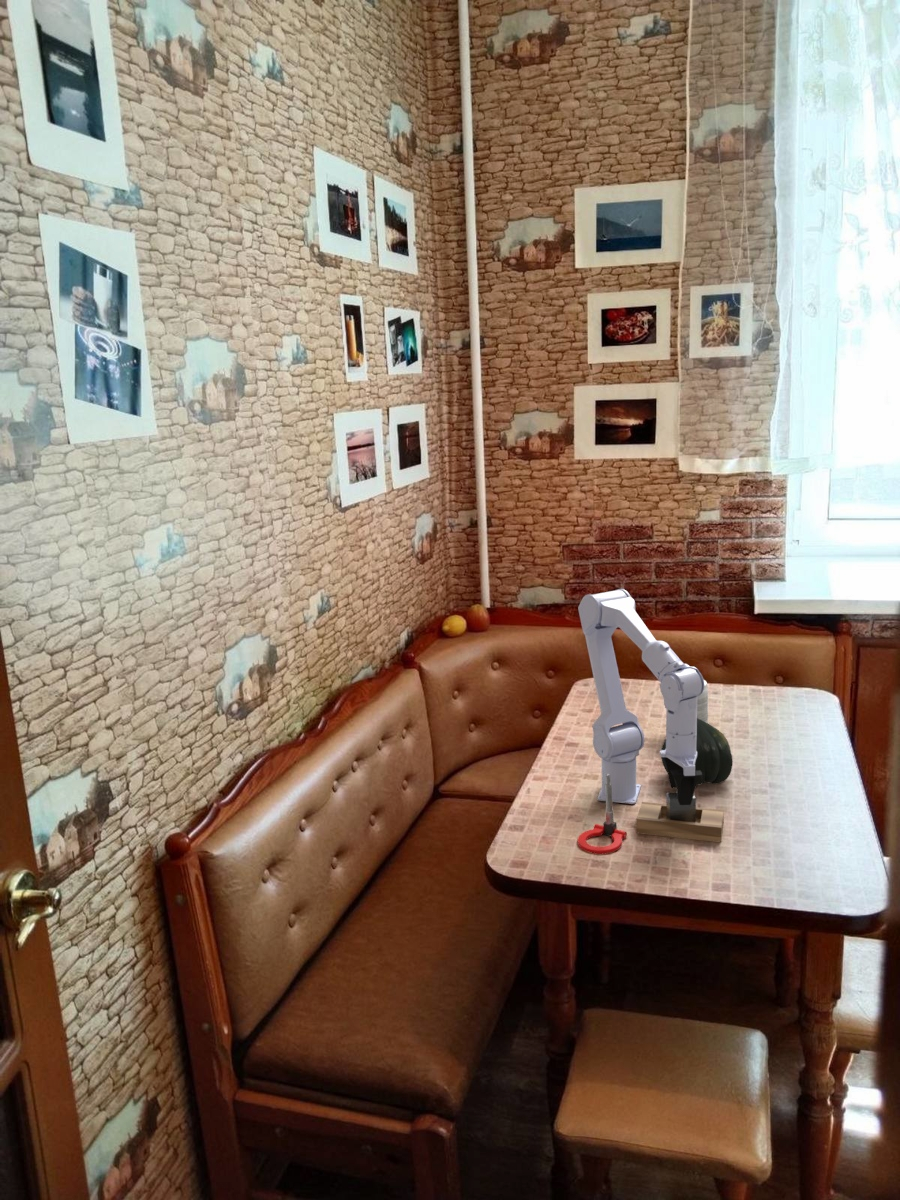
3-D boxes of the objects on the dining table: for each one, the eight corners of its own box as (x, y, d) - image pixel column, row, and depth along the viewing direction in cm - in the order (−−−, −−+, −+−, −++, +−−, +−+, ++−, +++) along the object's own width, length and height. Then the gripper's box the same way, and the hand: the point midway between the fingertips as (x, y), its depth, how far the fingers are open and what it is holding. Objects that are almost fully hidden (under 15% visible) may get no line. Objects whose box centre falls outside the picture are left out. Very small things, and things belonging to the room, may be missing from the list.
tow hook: (609, 860, 179) (631, 838, 186) (607, 797, 176) (629, 777, 183) (570, 849, 184) (593, 828, 191) (566, 787, 180) (590, 768, 188)
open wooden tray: (641, 815, 195) (641, 801, 195) (723, 823, 190) (723, 809, 189) (636, 833, 188) (636, 818, 187) (721, 842, 183) (721, 827, 182)
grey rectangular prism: (666, 820, 190) (666, 792, 189) (691, 819, 190) (691, 791, 189) (669, 827, 187) (669, 799, 186) (695, 826, 187) (695, 798, 186)
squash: (735, 776, 199) (730, 708, 206) (661, 775, 202) (659, 709, 209) (732, 796, 211) (727, 732, 218) (662, 796, 214) (660, 732, 222)
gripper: (652, 717, 192) (652, 781, 195) (668, 744, 177) (667, 812, 180) (688, 716, 191) (687, 779, 195) (706, 743, 177) (705, 811, 180)
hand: (680, 795), depth 188 cm, fingers open, 7 cm apart
